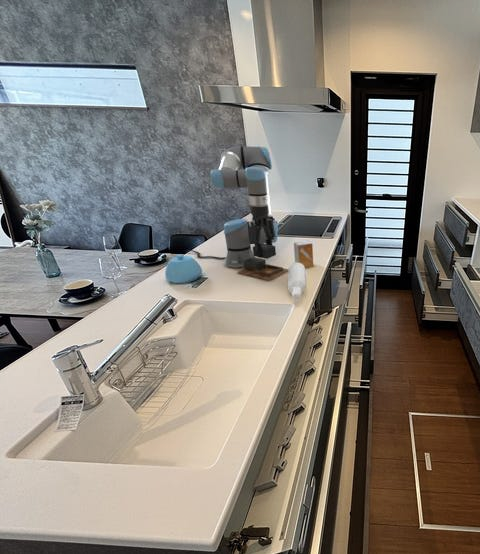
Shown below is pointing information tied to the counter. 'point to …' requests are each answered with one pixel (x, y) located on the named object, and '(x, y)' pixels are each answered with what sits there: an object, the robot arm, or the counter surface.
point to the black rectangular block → (266, 251)
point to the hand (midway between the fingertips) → (264, 254)
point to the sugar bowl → (182, 269)
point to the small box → (304, 253)
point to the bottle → (297, 280)
